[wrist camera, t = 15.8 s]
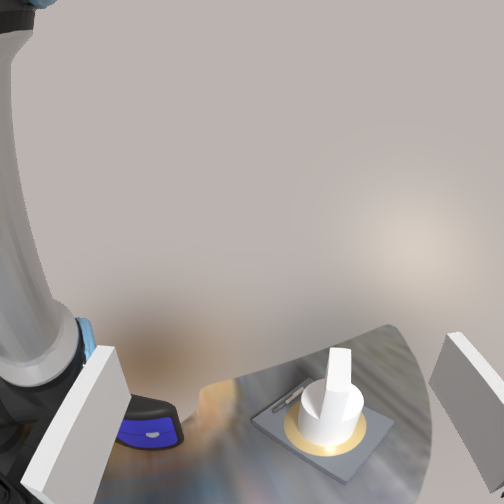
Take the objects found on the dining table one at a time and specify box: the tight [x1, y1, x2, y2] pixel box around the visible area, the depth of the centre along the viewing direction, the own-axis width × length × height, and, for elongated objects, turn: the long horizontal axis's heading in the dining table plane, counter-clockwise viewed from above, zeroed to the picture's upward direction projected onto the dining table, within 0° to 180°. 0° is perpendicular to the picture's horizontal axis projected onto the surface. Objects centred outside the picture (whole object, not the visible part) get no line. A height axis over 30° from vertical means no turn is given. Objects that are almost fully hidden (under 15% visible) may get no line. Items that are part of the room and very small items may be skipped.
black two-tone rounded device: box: [115, 394, 184, 450], centre depth 37 cm, size 16×5×9 cm, turn 83°
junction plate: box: [252, 377, 395, 485], centre depth 42 cm, size 18×14×2 cm
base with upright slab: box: [298, 348, 364, 446], centre depth 39 cm, size 9×9×12 cm
